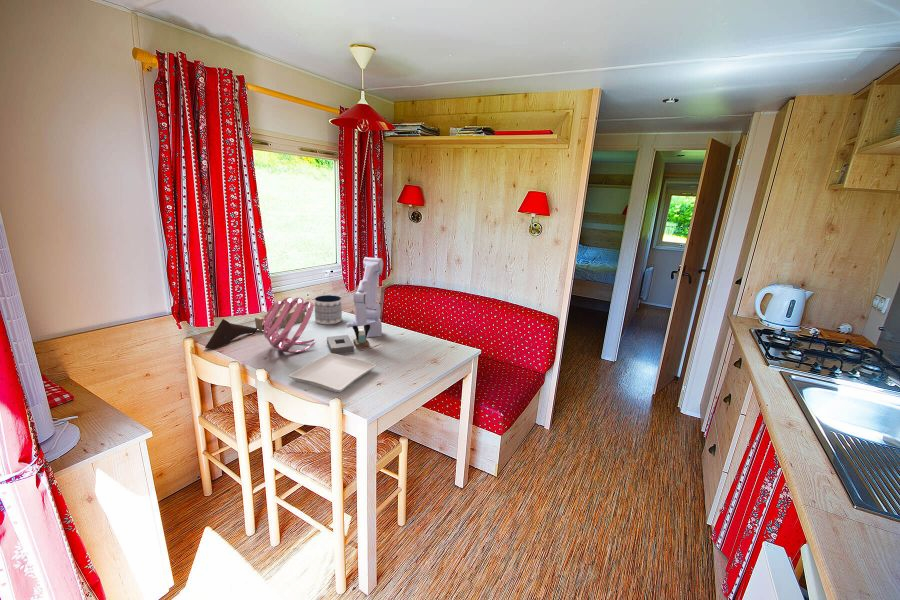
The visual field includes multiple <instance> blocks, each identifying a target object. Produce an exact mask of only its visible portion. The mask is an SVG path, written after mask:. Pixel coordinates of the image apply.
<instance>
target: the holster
mask: <svg viewBox="0 0 900 600" xmlns="http://www.w3.org/2000/svg"><path fill="white" fill-rule="evenodd" d="M257 331H258V330H257V328H256V327H251V326H247V325H241V324H236V323H231V322H229V321H227V320H225V319H224V318H222V320H221V321H220V323H219V324H218V326H217V327H216V329H215V331H214V332H213V334H212V336H211V337H210V339H209V340H208V342H207V344H206V346H205V347H204V348H205V349H209V350H216V349H219V348H222V347H225V345H228V344H230V343H231V341H233V340H234V339H235V340H236V338H238V337H240V336H242V335H248V334H249V335H250V333H253V334H256V333H257ZM255 332H256V333H255ZM227 343H228V344H227Z"/></svg>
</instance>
